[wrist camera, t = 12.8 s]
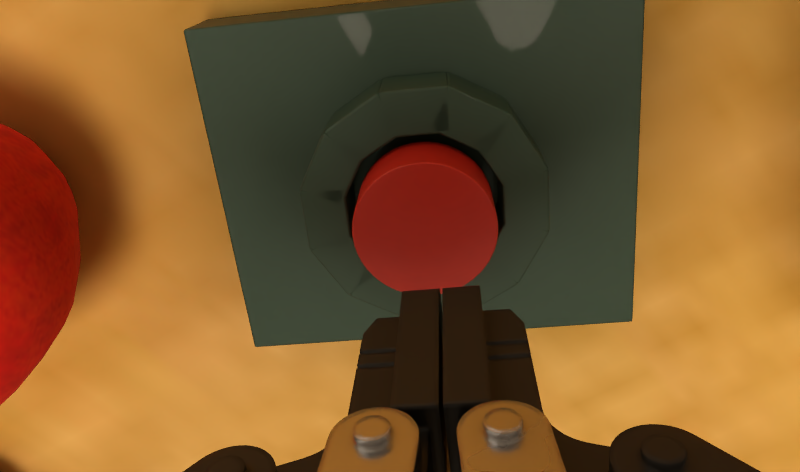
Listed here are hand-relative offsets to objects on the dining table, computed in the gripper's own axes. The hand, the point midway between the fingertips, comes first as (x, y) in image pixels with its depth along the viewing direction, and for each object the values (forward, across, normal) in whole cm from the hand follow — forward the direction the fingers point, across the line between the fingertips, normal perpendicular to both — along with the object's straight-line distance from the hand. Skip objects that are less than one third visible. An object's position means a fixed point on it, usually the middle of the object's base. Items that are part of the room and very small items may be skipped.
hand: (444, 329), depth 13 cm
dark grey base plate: (+9, 0, 0) cm, 9 cm away
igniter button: (+6, 0, 0) cm, 6 cm away
